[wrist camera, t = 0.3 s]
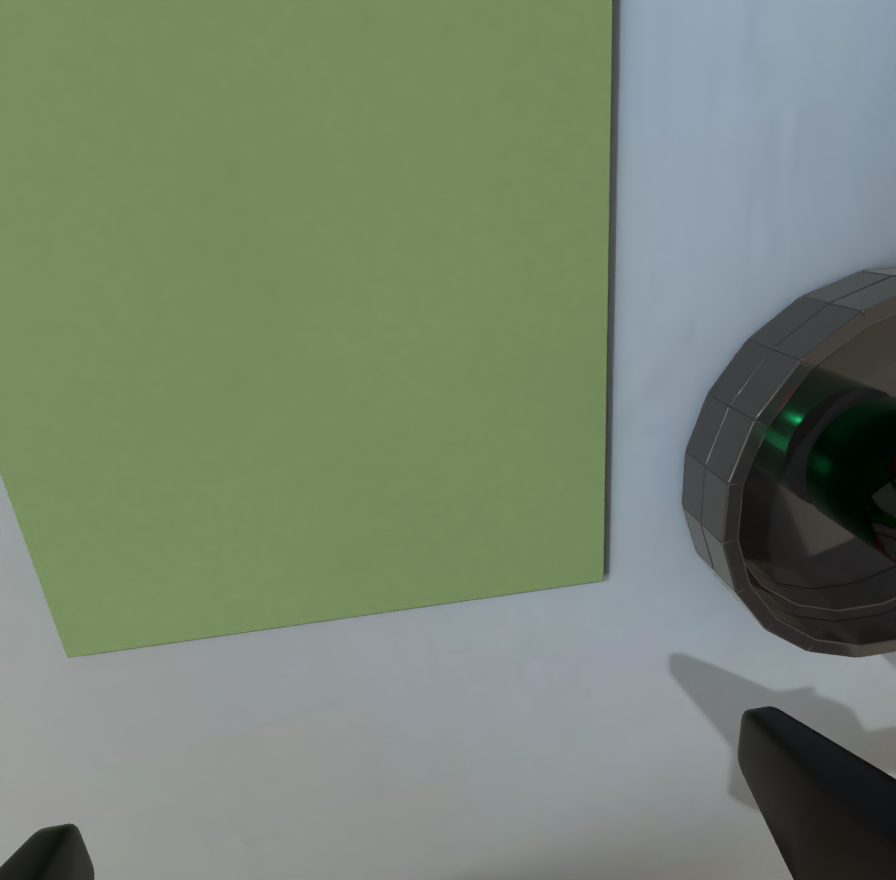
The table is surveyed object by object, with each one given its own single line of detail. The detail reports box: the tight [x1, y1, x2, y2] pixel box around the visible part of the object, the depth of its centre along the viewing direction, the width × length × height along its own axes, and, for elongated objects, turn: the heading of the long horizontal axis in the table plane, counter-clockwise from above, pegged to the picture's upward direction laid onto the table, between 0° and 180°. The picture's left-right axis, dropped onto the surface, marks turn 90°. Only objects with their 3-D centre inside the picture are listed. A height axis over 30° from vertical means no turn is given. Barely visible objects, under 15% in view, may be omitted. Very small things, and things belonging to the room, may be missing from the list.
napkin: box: [0, 0, 613, 657], centre depth 20 cm, size 20×20×1 cm
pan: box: [682, 267, 896, 658], centre depth 23 cm, size 14×14×3 cm
